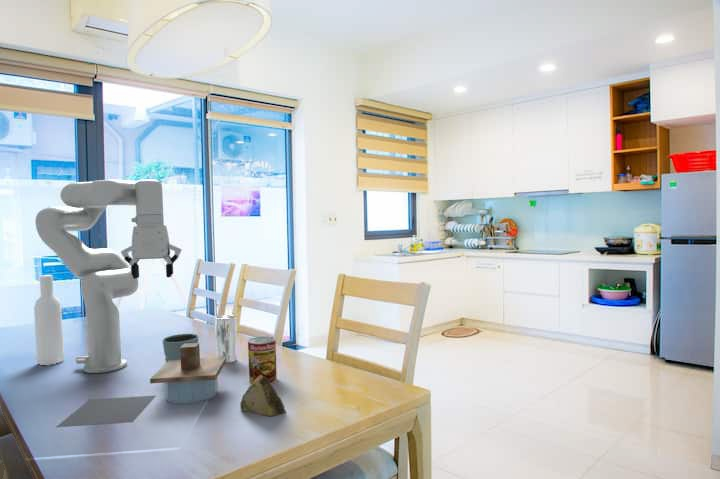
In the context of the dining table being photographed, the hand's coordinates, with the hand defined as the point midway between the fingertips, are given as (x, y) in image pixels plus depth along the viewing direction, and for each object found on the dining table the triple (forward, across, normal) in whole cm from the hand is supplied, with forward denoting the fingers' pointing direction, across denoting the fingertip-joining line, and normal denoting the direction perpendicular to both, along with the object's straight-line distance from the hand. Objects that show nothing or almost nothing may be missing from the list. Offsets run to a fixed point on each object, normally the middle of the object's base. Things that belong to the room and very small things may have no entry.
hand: (152, 277), depth 145 cm
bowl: (+30, +15, -19) cm, 39 cm away
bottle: (+31, -42, +22) cm, 56 cm away
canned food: (+31, +33, -10) cm, 46 cm away
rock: (+31, +35, -33) cm, 57 cm away
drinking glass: (+31, +8, -2) cm, 32 cm away
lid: (+24, +15, -19) cm, 34 cm away
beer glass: (+31, +19, +12) cm, 38 cm away
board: (+30, -3, -27) cm, 41 cm away
